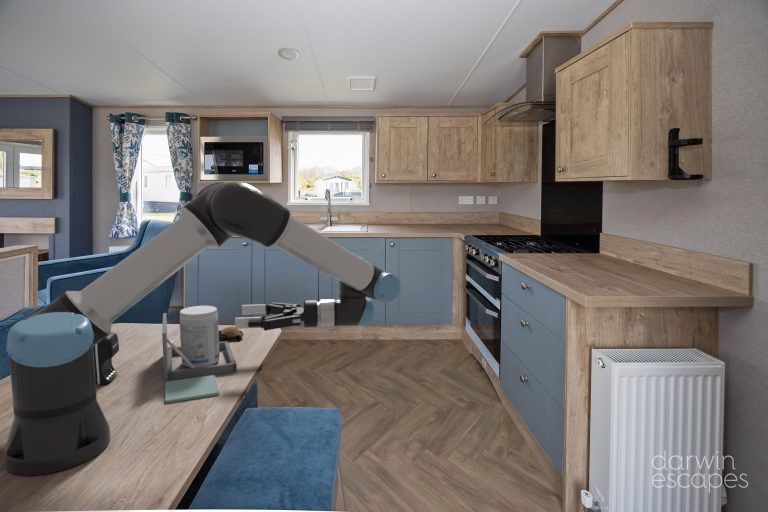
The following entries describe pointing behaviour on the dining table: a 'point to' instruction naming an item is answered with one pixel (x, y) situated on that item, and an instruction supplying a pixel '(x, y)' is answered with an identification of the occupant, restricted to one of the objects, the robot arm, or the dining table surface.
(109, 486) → the dining table surface
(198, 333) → the supplement tub
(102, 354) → the battery charger
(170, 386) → the mat
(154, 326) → the dining table surface
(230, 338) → the bread roll
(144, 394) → the dining table surface
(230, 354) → the grey open frame
